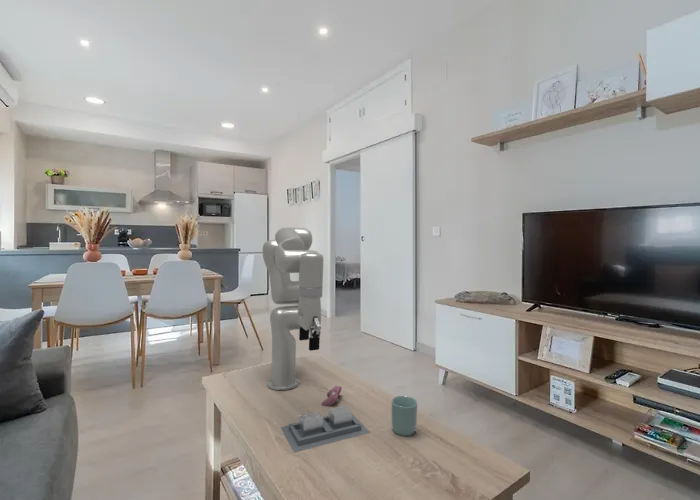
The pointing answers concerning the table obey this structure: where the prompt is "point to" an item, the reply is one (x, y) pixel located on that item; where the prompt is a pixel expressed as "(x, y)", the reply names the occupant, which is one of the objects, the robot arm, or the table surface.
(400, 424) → the cup
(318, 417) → the billet
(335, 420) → the block
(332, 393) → the video game controller
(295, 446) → the grey fixture tray
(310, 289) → the robot arm
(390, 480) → the table surface
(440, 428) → the table surface
